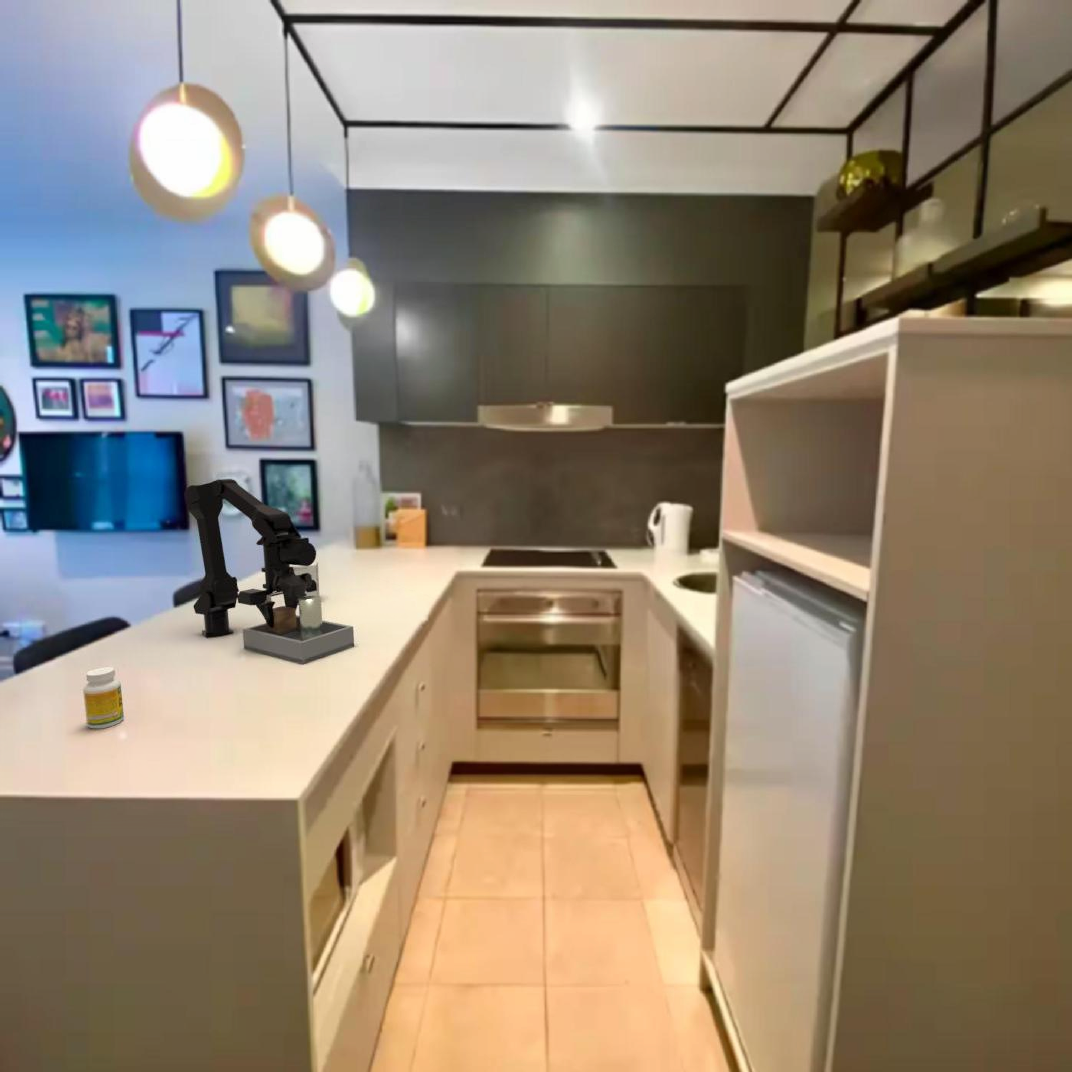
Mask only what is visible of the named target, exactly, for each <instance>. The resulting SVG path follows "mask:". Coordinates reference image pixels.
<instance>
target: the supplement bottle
mask: <svg viewBox="0 0 1072 1072" xmlns="http://www.w3.org/2000/svg"><path fill="white" fill-rule="evenodd" d="M115 676H116V671H115V668H114V667H111V666H110V667H108V666H106V667H100V668H96V669H92V670H90V671H87V672H86V681H87V684H85V685H84V687H83V689H82V690H83V701H84V707H85V708H84V709H85V710H84V711H85V718H86V725H87V728H90V729H94V730H95V729H97V730H99V729H105V728H110V727H112V726H115V725H117V724H119V723H121V722H122V721H123V720H124V718H125V716H124V715H125V714H124V704H123V696H122V695H123V694H122V686H121V685H122V684H121V682H120V680H119V679H117V678H115Z"/></svg>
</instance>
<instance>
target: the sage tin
mask: <svg viewBox="0 0 1072 1072" xmlns="http://www.w3.org/2000/svg"><path fill="white" fill-rule="evenodd" d="M298 611H299V614H298V616H300V631H301V641H304V640H308V639H311V638H314V637H317V636H320V635H323V626H322V620H323V614H322V613H323V612H322V611H323V609H322V597H321V596H320V595H319V596H306V597H301V598H299V604H298Z"/></svg>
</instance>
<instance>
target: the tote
mask: <svg viewBox="0 0 1072 1072" xmlns="http://www.w3.org/2000/svg"><path fill="white" fill-rule="evenodd" d="M296 625H297V628H294V629H291V630H287V631H284V632H280V633H278V632H274V631H269V630H266V622H264V623H261V624H256V625H253V626H250V627H246V628H242V637H243V639H242V640H243V649H244V650H246V651H249V652H253V653H257V654H262V655H264V656H265V655H266V656H269V657H272V658H276V659H281V660H284V661H288V662H293V663H296V664H300V665H305V664H308V663H312V662H313V661H318V660H319V659H322V658H325V657H328V656H330V655H333V654H336V653H339V652H342V651H344V650H345V651H346V650H348V649H351V648H353V647H355V634H354V631H355V630H354V626H352V625H349V624H342V623H337V622H332V621H326V620H323V619H322V626H323V635H320V636H317V637H314V638H311V639H308V640H304V641H301V631H300V615H299V614H298V615H297V614H296Z"/></svg>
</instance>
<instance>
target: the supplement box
mask: <svg viewBox="0 0 1072 1072" xmlns="http://www.w3.org/2000/svg"><path fill="white" fill-rule="evenodd" d="M291 567H293V569H294V573H295V575H301V574H304V573H309V574H311V577H312V580H314V581H315V582H316V583H317V591H313V592H306V591H305V594H307V595H306V596H320V585H319V584H320V581H319V580H320V579H319V562H318V561H314V562H313V563H312V564H311V565H310V566H299V565H291ZM306 596H304V597H306ZM298 605H299V603H298Z"/></svg>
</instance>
